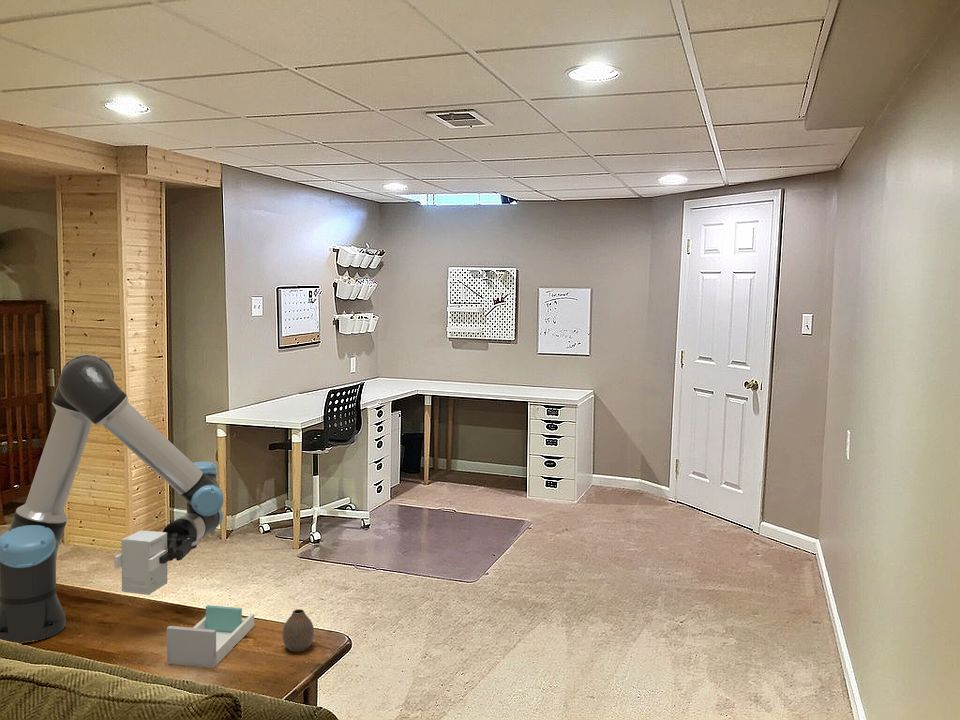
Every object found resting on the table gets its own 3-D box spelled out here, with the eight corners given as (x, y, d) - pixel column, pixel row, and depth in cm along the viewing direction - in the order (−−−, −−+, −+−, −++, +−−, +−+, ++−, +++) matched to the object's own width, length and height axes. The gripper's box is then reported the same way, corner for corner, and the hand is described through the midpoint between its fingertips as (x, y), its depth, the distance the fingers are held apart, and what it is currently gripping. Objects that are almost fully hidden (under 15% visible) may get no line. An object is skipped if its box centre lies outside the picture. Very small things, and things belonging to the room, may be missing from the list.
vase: (302, 657, 175) (303, 619, 174) (276, 652, 177) (276, 614, 176) (319, 644, 181) (319, 607, 181) (293, 639, 184) (294, 602, 183)
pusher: (207, 627, 187) (207, 605, 186) (241, 630, 186) (241, 608, 185) (205, 629, 186) (205, 606, 185) (239, 632, 185) (239, 609, 184)
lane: (212, 622, 191) (212, 590, 190) (254, 626, 190) (254, 593, 189) (167, 663, 171) (166, 628, 170) (213, 668, 169) (213, 632, 168)
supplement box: (149, 595, 180) (149, 541, 179) (120, 592, 181) (119, 538, 180) (168, 583, 187) (168, 531, 186) (140, 580, 189) (140, 529, 187)
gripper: (221, 549, 200) (175, 583, 178) (146, 543, 203) (91, 576, 180) (221, 520, 200) (175, 551, 177) (145, 515, 202) (90, 544, 180)
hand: (133, 564), depth 179 cm, fingers closed on supplement box, 7 cm apart
